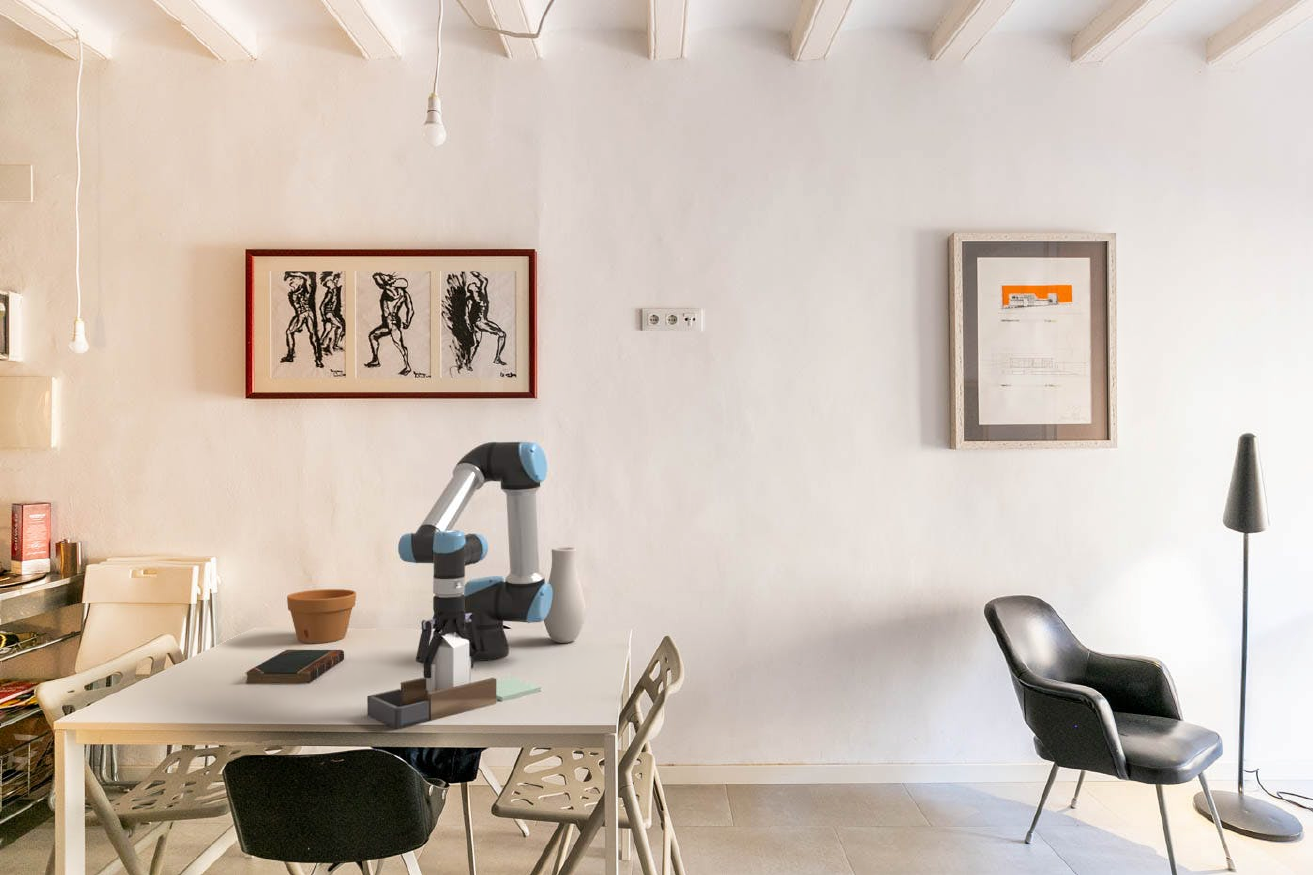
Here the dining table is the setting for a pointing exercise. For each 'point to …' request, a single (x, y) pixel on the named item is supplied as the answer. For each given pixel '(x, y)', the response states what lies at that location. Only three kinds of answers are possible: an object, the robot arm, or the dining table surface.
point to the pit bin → (396, 710)
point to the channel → (449, 696)
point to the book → (295, 666)
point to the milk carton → (451, 662)
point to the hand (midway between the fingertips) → (448, 686)
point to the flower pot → (321, 614)
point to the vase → (565, 597)
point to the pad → (513, 688)
